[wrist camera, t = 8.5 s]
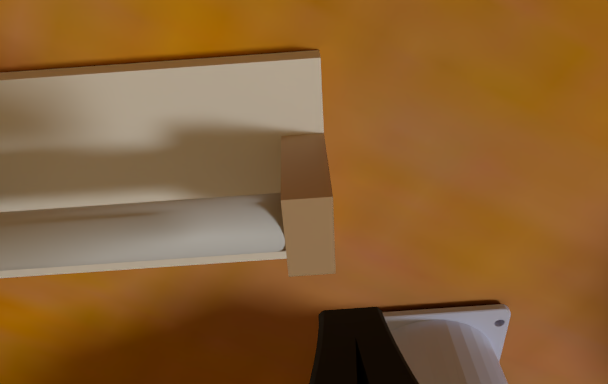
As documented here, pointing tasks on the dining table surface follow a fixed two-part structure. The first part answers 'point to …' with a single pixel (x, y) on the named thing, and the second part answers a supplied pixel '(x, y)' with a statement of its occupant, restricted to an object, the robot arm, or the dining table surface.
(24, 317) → the dining table surface
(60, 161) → the pipe rig
